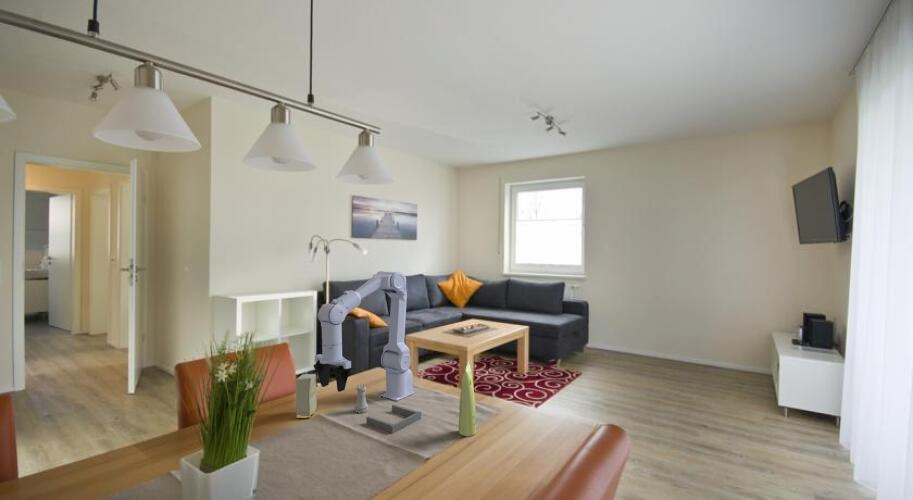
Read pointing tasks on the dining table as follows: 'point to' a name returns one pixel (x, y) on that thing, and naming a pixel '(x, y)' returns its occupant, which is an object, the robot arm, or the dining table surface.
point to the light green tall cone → (467, 405)
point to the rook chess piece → (361, 399)
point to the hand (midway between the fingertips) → (333, 388)
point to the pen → (393, 428)
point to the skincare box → (306, 394)
